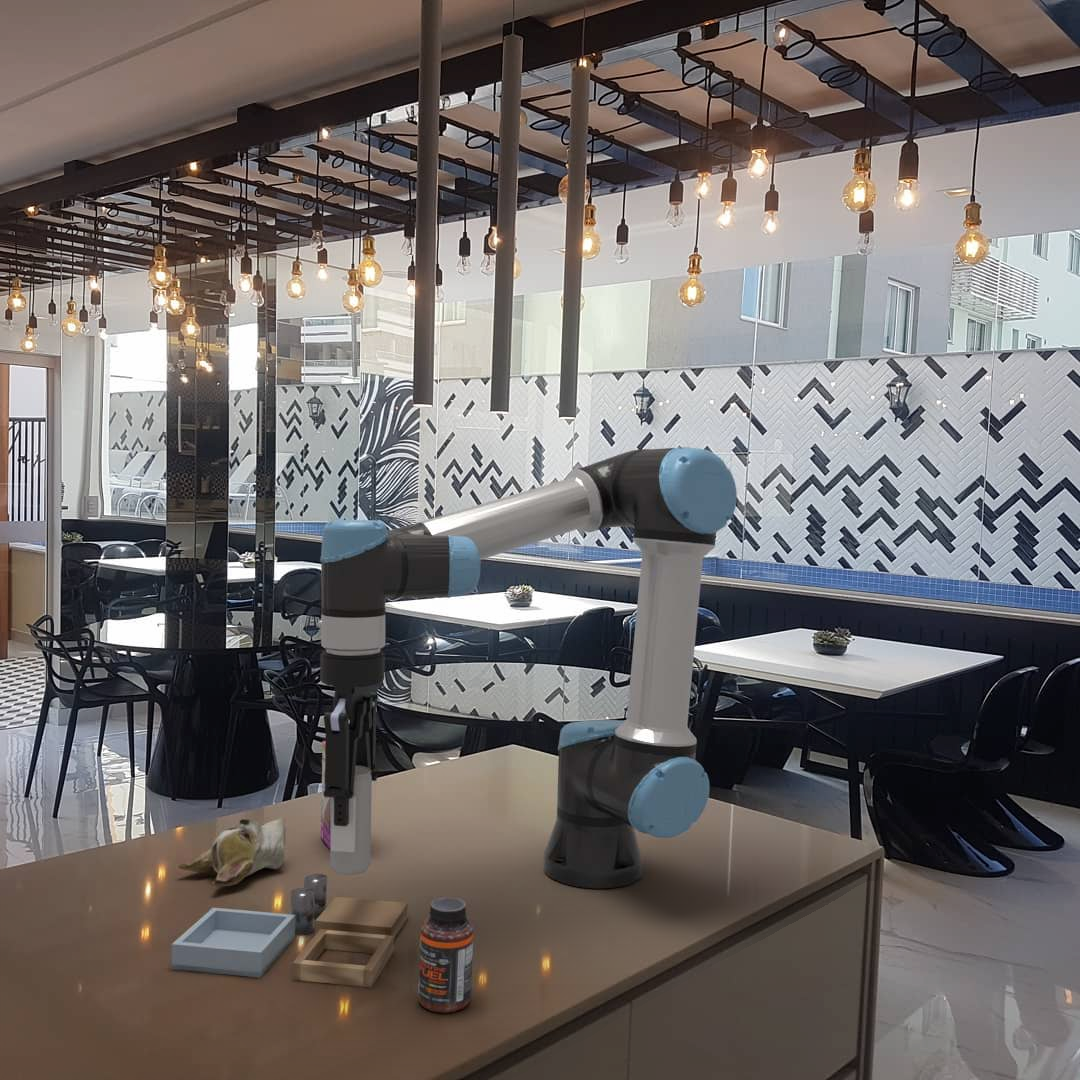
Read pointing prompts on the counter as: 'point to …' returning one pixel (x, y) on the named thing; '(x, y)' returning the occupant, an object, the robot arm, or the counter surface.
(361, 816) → the beverage can
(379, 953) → the collar
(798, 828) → the counter surface
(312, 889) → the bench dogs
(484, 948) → the counter surface
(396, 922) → the board
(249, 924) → the tray
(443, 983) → the supplement bottle
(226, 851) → the ceramic sculpture
